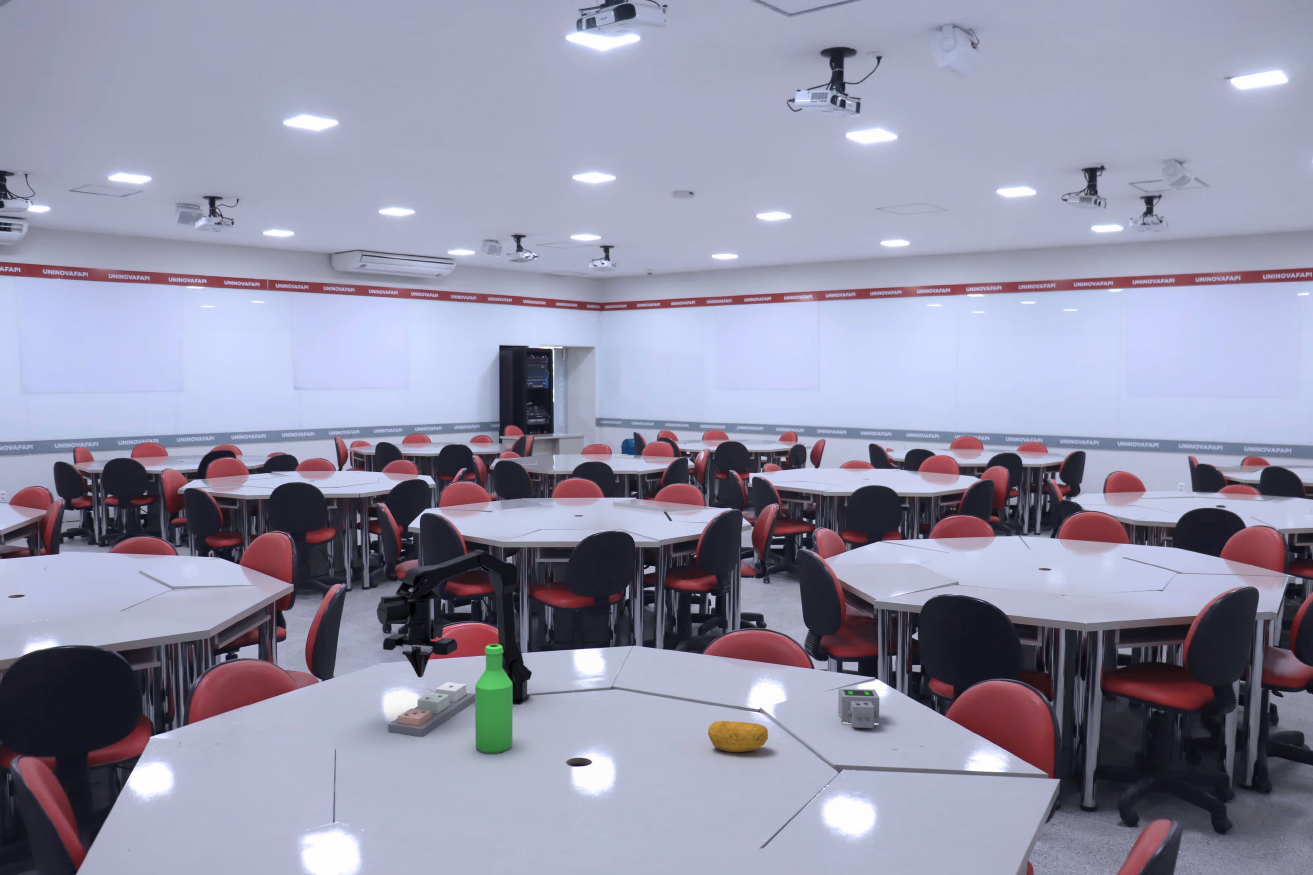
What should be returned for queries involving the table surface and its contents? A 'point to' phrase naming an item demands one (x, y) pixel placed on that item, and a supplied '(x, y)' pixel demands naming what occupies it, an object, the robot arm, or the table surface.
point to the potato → (737, 736)
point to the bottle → (493, 704)
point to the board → (435, 720)
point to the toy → (859, 707)
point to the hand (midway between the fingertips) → (420, 676)
